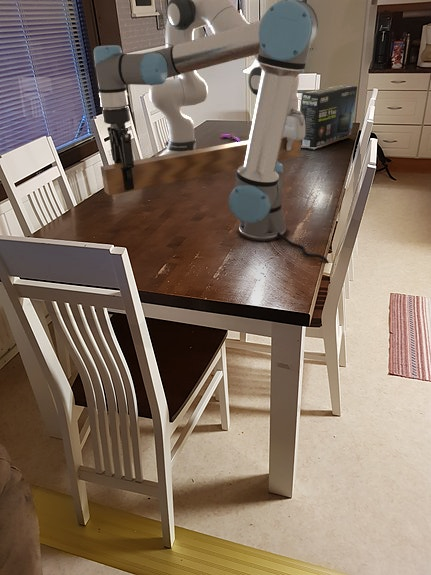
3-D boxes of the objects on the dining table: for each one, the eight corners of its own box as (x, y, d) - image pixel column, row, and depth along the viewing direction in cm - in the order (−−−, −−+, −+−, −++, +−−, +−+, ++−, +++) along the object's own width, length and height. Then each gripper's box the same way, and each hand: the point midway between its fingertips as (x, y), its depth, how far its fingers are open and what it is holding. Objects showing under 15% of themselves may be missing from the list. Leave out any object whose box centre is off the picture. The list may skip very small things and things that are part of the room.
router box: (314, 151, 231) (318, 94, 217) (296, 148, 237) (299, 92, 224) (352, 138, 251) (358, 85, 238) (335, 135, 258) (340, 83, 245)
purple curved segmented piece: (221, 137, 264) (220, 133, 263) (234, 136, 265) (233, 132, 264) (228, 145, 247) (228, 142, 246) (242, 144, 248) (242, 140, 247)
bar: (109, 195, 137) (105, 170, 133) (104, 191, 141) (100, 166, 137) (300, 156, 168) (301, 134, 164) (292, 153, 171) (293, 132, 167)
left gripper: (311, 110, 151) (308, 153, 159) (274, 102, 167) (273, 141, 174) (296, 113, 149) (293, 155, 156) (260, 104, 164) (259, 143, 171)
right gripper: (139, 110, 124) (148, 192, 136) (117, 101, 138) (127, 177, 150) (112, 113, 121) (125, 197, 133) (93, 104, 135) (105, 182, 147)
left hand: (282, 148), depth 165 cm, fingers closed on bar, 4 cm apart
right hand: (126, 187), depth 141 cm, fingers closed on bar, 5 cm apart
